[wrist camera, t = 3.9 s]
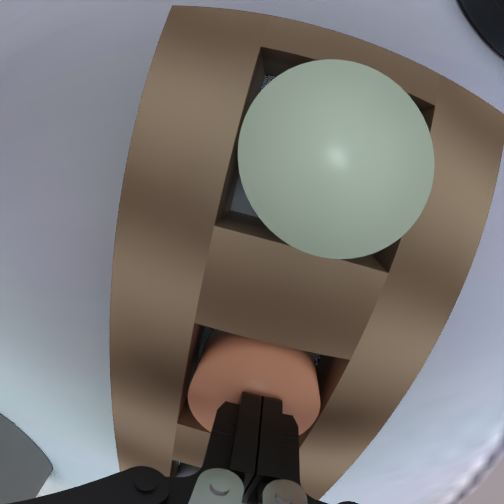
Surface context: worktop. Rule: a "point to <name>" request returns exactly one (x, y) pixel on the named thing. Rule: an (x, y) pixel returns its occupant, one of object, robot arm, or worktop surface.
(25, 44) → the worktop surface
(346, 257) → the sage button
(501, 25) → the supplement bottle
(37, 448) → the coffee mug
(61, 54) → the worktop surface
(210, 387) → the terracotta button
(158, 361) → the button panel
